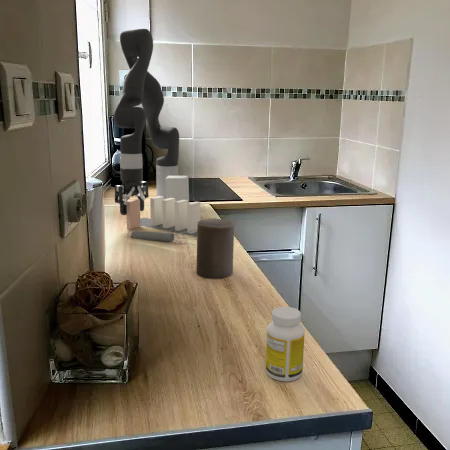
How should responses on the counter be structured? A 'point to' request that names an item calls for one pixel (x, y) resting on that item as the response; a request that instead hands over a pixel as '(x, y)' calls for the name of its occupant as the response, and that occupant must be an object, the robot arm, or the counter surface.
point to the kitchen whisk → (158, 236)
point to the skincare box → (177, 188)
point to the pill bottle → (285, 345)
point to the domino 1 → (133, 214)
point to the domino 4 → (181, 215)
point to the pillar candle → (215, 248)
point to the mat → (147, 223)
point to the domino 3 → (168, 212)
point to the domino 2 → (156, 210)
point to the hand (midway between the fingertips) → (132, 212)
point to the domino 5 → (193, 216)
